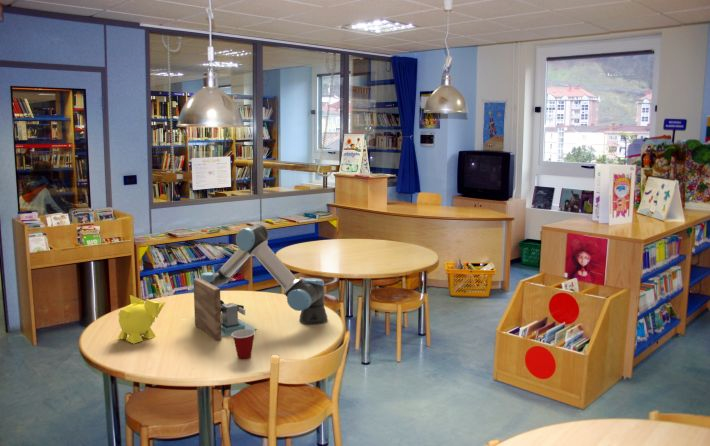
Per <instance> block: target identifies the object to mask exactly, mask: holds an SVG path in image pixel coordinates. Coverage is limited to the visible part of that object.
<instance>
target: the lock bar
mask: <svg viewBox="0 0 710 446" xmlns="http://www.w3.org/2000/svg"><path fill="white" fill-rule="evenodd" d="M235 304H236V303H233V302H228V303H224V305H222V312H221V322H222V326H224V327H225V328H230V327H235V326H238V319H239V311H238V306H237V305H238V304H237V305H235Z"/></svg>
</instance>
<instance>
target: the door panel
mask: <svg viewBox="0 0 710 446" xmlns="http://www.w3.org/2000/svg"><path fill="white" fill-rule="evenodd" d="M192 281H193V305H194V327H195V328H197V329H198V330H199V331H201V332H202V333H204V334H205V335H207V336H208V337H210V338H211V339H213V340H214V341H222V338H223V337H221V322H222V312H221V302H220V300H221V288H219V286H217V287H216V286H214V285H212V284H210V283H208V282H206V281H204V280H202V279H201V277H196V278H193V279H192Z"/></svg>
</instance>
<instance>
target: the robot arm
mask: <svg viewBox="0 0 710 446" xmlns="http://www.w3.org/2000/svg"><path fill="white" fill-rule="evenodd" d="M235 235H236V236H235V243H236V246H237V248H238V249H237V250H235V252H234V253H233V254H232V255H231V256H230V258H229V259H227V260H226V262H225V263H223V265H222V266H221V267H220V268H219V269H218V270H217V271H216V272H215V273H214V272H211V271H207V272H202V273H201V274H200V279H202V280H204V281H206V282H208V283H210V284H212V285H214V286H216V287H220V286H223V285H225V284H227V283H228V282H229V281H230V280H231V277H232V276H233V275H234V274H235V273H236V271H237V270H239V268H240V267H242V265H243V264H245V262H246V261H247V260H248V259H249V258H250V257H255V258H256V259H257V260H258V261H259V263H261V265H262V266H263V267H264V268H265V270H267V272H269V274H270V275H271V277H273V278H274V280H275V281H276V282H277V283H278V284H279V286H281V288H283V290H284V295H285V296H286V300H287V305H288V306H289V307H290V308H291V309H293V310H294V311H298V312H300V311H301V312H300V315H299V322H301V323H302V324H306V325H320V324H324V323H326V322H327V321H328V314H327V312H326V311H327V310H326V307H325V281H324V279H321V278H311V277H310V278H309V277H307V278H303V279H301V278H297V277H296V276H295V275H294V273H292V272H291V271H290V269H289V267H287V266H286V265H285V264H284V262H283V261H282V260H281V259H280V258H279V257H278V256H277V255H276V253H275V252H274V251H273V250H272V249H271V248H270V246H269V245H268V243H269V241H268V240H269V236H270V233H269V230H268V229H267V227H266V226H265V225H263V224H253V225H250V226H245V227H243V228H241V229H240V230H238V232H237V233H236V234H235ZM220 302H221V313H222V305H224V304H225V302H224V301H223V300H222V299H220ZM234 304H235V305H237V306H238V314H239V313H240V314H241V315H243V316H246V309H245V306H244V305H243V304H238V303H234Z"/></svg>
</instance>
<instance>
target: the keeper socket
mask: <svg viewBox="0 0 710 446" xmlns="http://www.w3.org/2000/svg"><path fill="white" fill-rule="evenodd" d="M243 329H252V330H254V331H257V328H256V327H254V326H253V325H250V324H249V323H247V322H245V321H243V320H242V319H240V318H238V326H235V327H230V328H225V327H224V326H222V321H221V338H225V337H230V336H232V335H231V334H232V333H233V332H235V331H238V330H243Z"/></svg>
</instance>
